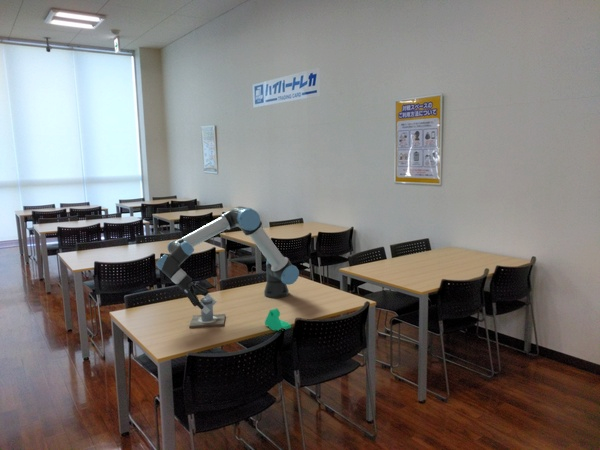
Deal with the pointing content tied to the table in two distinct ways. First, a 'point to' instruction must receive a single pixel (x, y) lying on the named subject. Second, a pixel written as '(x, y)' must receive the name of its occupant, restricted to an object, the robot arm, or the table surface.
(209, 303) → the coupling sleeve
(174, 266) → the robot arm
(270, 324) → the green toy figure
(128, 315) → the table surface
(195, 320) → the mounting plate
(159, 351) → the table surface
